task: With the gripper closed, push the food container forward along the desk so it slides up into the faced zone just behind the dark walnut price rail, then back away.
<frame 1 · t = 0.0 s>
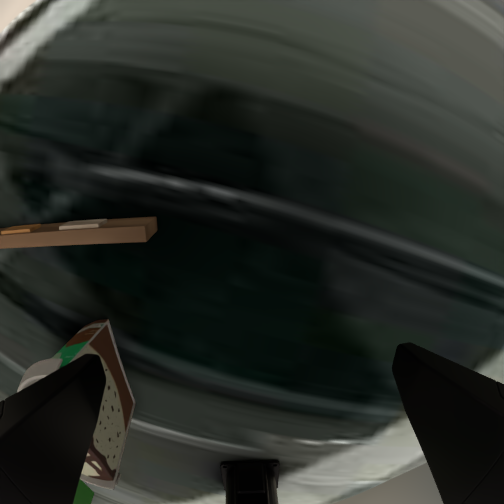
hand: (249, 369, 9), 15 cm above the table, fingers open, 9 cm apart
food container: (93, 362, 26), on the table
price rail: (62, 229, 22), on the table
hardback book: (40, 472, 33), on the table
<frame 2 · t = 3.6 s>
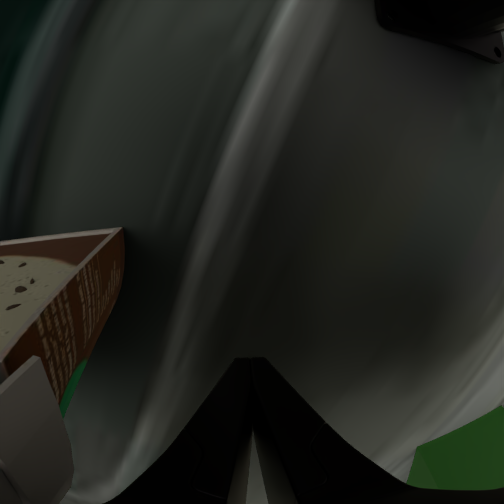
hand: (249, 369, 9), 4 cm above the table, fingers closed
food container: (45, 303, 12), on the table, touching gripper
hardback book: (437, 482, 19), on the table
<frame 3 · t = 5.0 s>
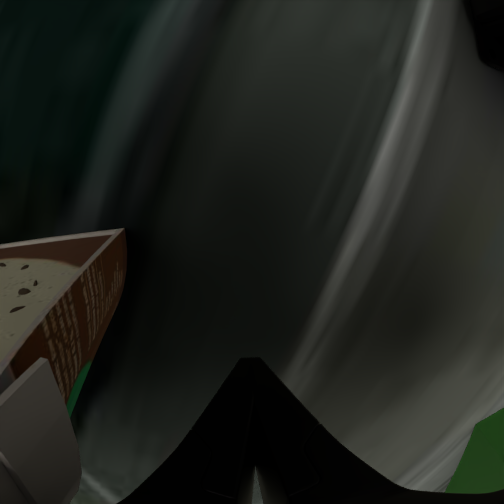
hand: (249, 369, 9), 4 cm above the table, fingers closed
food container: (46, 306, 12), on the table, touching gripper
hardback book: (481, 461, 19), on the table
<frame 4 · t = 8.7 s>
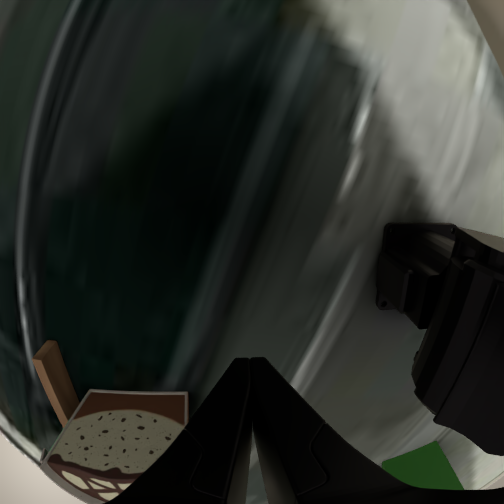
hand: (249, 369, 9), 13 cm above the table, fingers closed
food container: (145, 414, 26), on the table
price rail: (78, 408, 25), on the table
hardback book: (401, 482, 33), on the table
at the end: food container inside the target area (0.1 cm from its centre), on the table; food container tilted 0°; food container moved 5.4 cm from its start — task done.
